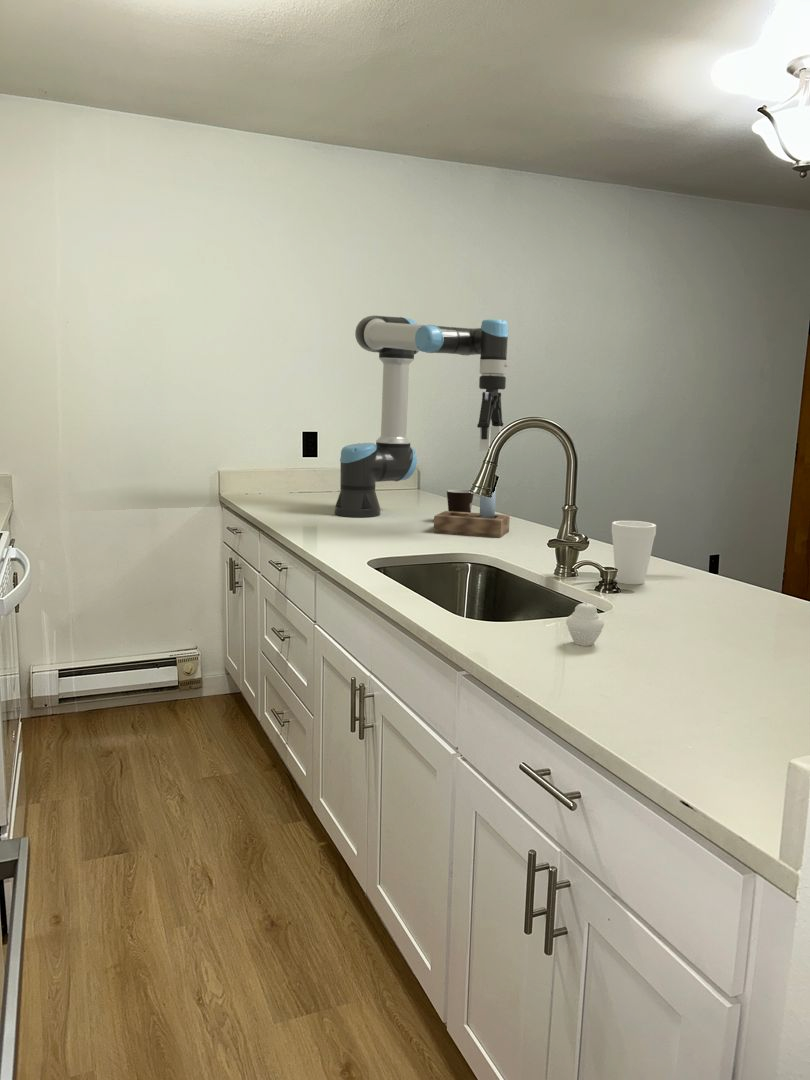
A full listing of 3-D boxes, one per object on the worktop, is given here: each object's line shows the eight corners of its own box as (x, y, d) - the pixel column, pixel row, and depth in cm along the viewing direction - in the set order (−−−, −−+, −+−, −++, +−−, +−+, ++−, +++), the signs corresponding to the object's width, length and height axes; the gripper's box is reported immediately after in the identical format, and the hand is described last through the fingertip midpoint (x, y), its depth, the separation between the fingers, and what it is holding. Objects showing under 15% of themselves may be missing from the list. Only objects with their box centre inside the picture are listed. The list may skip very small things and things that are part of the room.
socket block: (433, 532, 249) (434, 515, 248) (444, 526, 260) (445, 510, 259) (500, 537, 243) (501, 520, 242) (508, 531, 254) (509, 515, 253)
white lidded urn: (597, 638, 145) (599, 598, 143) (607, 648, 138) (609, 607, 137) (561, 637, 144) (563, 597, 143) (569, 648, 138) (572, 606, 137)
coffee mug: (463, 525, 265) (464, 493, 263) (440, 522, 270) (441, 490, 268) (482, 521, 274) (484, 490, 272) (460, 518, 279) (461, 488, 277)
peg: (477, 530, 249) (479, 479, 246) (481, 528, 253) (482, 478, 250) (492, 531, 247) (494, 480, 245) (495, 529, 252) (497, 479, 249)
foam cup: (600, 577, 192) (604, 521, 190) (634, 575, 196) (638, 520, 193) (625, 587, 184) (629, 528, 182) (660, 584, 187) (664, 526, 185)
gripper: (496, 374, 230) (492, 452, 233) (514, 376, 253) (511, 447, 257) (469, 373, 232) (466, 451, 236) (489, 376, 255) (486, 446, 259)
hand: (489, 449), depth 246 cm, fingers open, 13 cm apart
